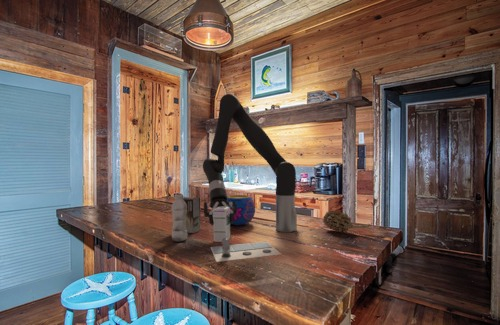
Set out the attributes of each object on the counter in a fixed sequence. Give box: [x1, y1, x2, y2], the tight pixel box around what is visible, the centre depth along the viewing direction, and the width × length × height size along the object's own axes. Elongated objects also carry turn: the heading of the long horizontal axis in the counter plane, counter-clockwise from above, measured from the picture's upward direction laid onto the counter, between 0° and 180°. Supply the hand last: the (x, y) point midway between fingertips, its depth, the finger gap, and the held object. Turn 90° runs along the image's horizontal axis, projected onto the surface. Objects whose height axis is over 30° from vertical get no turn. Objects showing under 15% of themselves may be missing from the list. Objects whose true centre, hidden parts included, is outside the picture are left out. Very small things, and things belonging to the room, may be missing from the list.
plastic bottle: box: [171, 193, 189, 243], centre depth 111 cm, size 6×7×20 cm
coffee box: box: [183, 196, 201, 234], centre depth 126 cm, size 9×6×16 cm
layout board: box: [209, 241, 282, 263], centre depth 96 cm, size 23×15×1 cm, turn 107°
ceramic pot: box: [227, 194, 256, 226], centre depth 139 cm, size 18×18×15 cm
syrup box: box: [212, 206, 231, 243], centre depth 109 cm, size 6×6×14 cm
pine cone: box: [322, 209, 371, 234], centre depth 121 cm, size 22×10×10 cm, turn 55°
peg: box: [221, 238, 231, 257], centre depth 90 cm, size 3×3×6 cm
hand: (222, 223), depth 107 cm, fingers closed on syrup box, 7 cm apart
